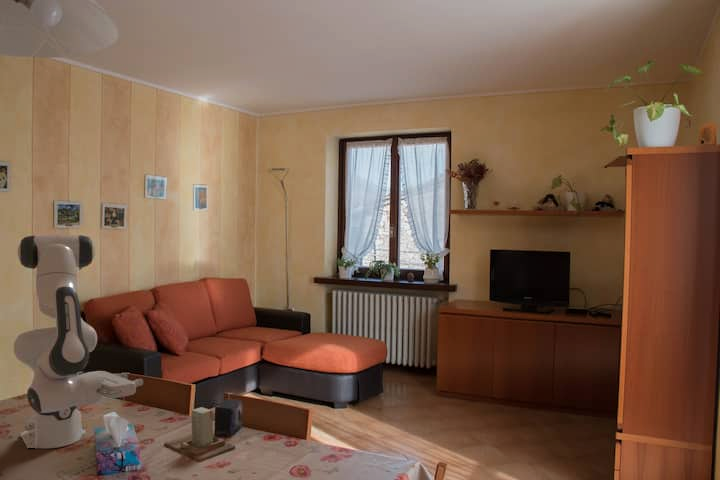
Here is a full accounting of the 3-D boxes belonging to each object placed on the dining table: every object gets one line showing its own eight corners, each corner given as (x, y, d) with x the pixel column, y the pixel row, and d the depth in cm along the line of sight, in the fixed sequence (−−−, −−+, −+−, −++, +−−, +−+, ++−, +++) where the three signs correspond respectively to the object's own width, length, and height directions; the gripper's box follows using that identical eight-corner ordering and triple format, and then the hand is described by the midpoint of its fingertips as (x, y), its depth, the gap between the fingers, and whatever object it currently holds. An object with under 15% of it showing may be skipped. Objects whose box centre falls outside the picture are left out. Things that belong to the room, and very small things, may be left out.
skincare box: (213, 446, 192) (213, 410, 192) (202, 450, 189) (203, 413, 188) (201, 441, 196) (201, 406, 196) (190, 445, 193) (191, 409, 192)
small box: (230, 438, 202) (231, 408, 202) (213, 436, 203) (213, 406, 203) (242, 427, 212) (243, 399, 212) (226, 425, 214) (226, 397, 213)
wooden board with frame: (164, 445, 195) (164, 438, 195) (199, 433, 206) (199, 427, 206) (199, 461, 182) (199, 454, 182) (235, 448, 193) (235, 441, 193)
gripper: (107, 384, 164) (152, 374, 175) (74, 371, 177) (117, 363, 188) (107, 406, 164) (151, 395, 175) (74, 391, 177) (117, 382, 188)
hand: (134, 378), depth 181 cm, fingers open, 8 cm apart
